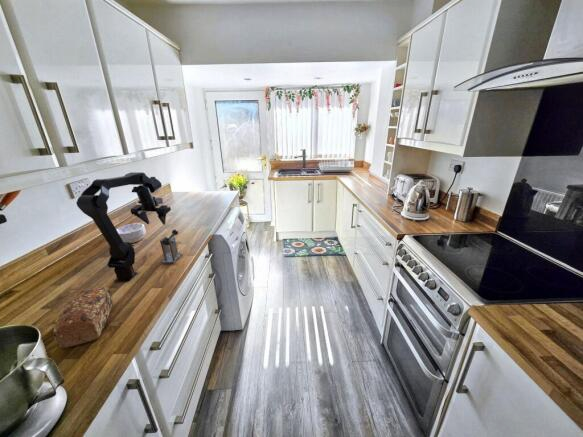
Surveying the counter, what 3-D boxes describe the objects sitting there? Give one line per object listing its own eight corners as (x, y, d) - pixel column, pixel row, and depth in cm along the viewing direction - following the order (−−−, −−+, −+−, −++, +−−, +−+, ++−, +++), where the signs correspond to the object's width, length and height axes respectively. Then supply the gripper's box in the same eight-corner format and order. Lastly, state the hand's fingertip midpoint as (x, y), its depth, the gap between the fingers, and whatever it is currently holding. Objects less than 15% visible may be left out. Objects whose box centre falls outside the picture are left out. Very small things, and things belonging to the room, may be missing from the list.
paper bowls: (125, 248, 133) (121, 235, 130) (112, 242, 140) (108, 230, 138) (152, 237, 145) (149, 225, 142) (139, 232, 152) (135, 221, 150)
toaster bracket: (170, 254, 124) (165, 234, 120) (182, 254, 124) (177, 234, 120) (161, 264, 116) (156, 242, 112) (173, 264, 116) (168, 242, 112)
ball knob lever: (174, 233, 125) (172, 228, 124) (180, 233, 125) (178, 228, 124) (164, 245, 116) (162, 241, 115) (170, 245, 116) (168, 240, 115)
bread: (101, 339, 75) (90, 315, 71) (58, 351, 71) (44, 326, 68) (116, 302, 91) (108, 280, 88) (82, 310, 88) (72, 288, 84)
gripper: (172, 190, 122) (181, 216, 130) (139, 190, 125) (150, 215, 133) (158, 200, 113) (169, 227, 121) (123, 199, 115) (136, 226, 123)
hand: (156, 224), depth 125 cm, fingers open, 9 cm apart
